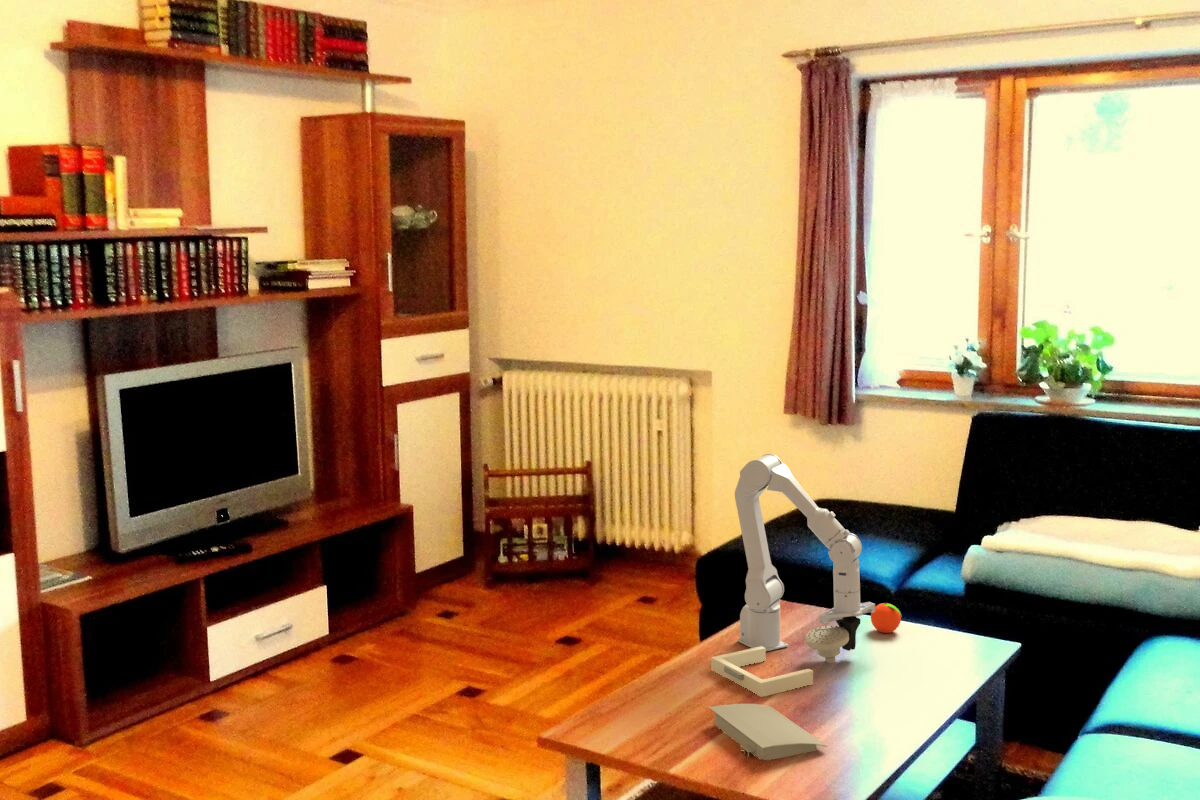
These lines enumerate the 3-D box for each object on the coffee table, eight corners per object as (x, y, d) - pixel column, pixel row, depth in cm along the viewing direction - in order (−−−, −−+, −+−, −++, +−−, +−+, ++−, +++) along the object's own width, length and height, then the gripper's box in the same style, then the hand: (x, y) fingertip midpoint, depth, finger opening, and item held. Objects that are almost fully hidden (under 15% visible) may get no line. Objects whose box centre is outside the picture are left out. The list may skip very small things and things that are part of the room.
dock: (708, 671, 266) (708, 657, 266) (761, 659, 273) (761, 646, 273) (757, 698, 251) (757, 684, 250) (812, 684, 258) (813, 670, 257)
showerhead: (805, 643, 265) (804, 623, 275) (809, 674, 267) (808, 653, 277) (849, 639, 264) (846, 619, 273) (853, 670, 265) (850, 649, 275)
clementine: (910, 632, 289) (910, 603, 288) (893, 639, 284) (894, 610, 283) (881, 625, 295) (881, 596, 294) (864, 632, 290) (865, 603, 289)
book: (757, 773, 218) (757, 752, 217) (698, 725, 239) (698, 706, 238) (831, 757, 224) (831, 737, 223) (767, 712, 245) (767, 693, 244)
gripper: (833, 599, 264) (834, 660, 266) (884, 587, 271) (885, 646, 273) (812, 592, 270) (814, 651, 272) (862, 580, 277) (863, 638, 279)
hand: (848, 648), depth 273 cm, fingers closed, pressing on showerhead
